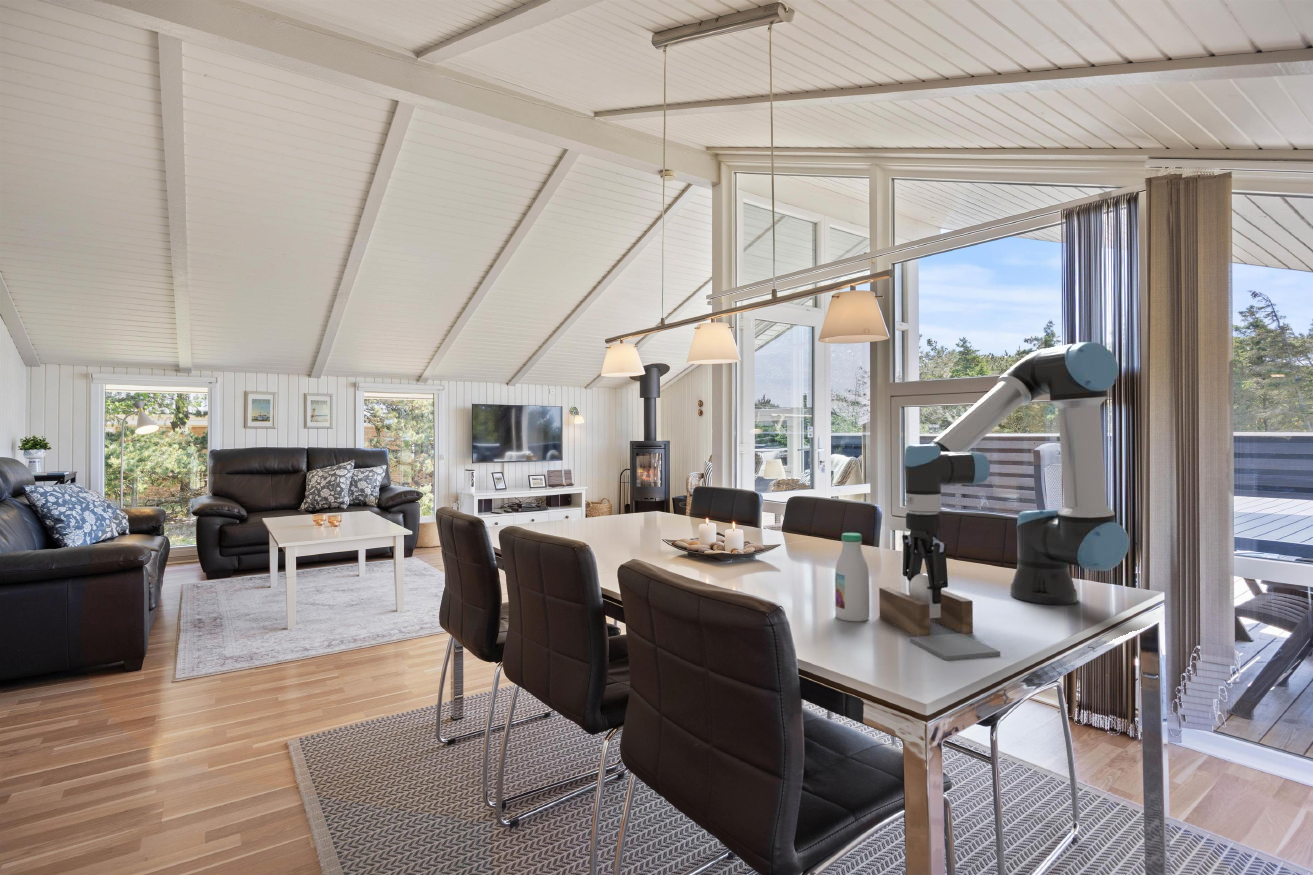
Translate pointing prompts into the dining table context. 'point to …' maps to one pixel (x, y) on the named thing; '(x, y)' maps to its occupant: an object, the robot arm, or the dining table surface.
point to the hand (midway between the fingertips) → (924, 612)
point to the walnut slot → (925, 612)
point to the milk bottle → (852, 581)
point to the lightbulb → (920, 587)
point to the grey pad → (954, 646)
